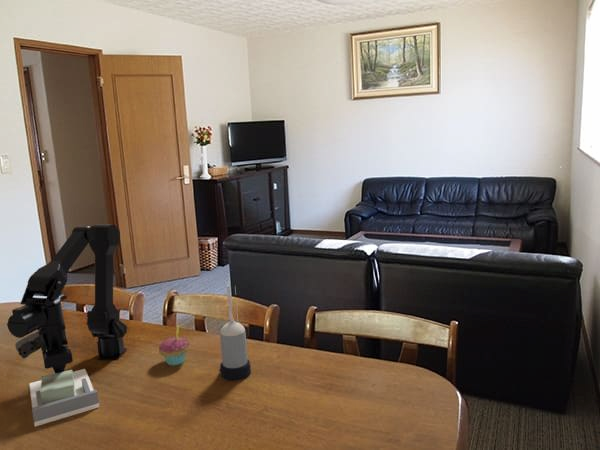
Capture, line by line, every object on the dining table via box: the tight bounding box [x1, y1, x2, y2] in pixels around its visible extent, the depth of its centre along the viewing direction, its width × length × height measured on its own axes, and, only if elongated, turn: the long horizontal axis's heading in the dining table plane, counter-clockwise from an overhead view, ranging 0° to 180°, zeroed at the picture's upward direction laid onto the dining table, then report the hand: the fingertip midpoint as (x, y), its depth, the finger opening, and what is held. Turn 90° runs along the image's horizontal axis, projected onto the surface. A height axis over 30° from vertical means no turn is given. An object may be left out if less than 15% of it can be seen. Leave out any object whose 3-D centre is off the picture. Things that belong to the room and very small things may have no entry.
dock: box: [28, 368, 100, 427], centre depth 127 cm, size 24×14×5 cm, turn 31°
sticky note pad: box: [41, 369, 75, 405], centre depth 124 cm, size 9×7×5 cm
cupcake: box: [158, 322, 191, 366], centre depth 142 cm, size 9×8×12 cm
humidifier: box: [218, 284, 252, 382], centre depth 132 cm, size 8×8×25 cm
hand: (59, 377), depth 129 cm, fingers closed
